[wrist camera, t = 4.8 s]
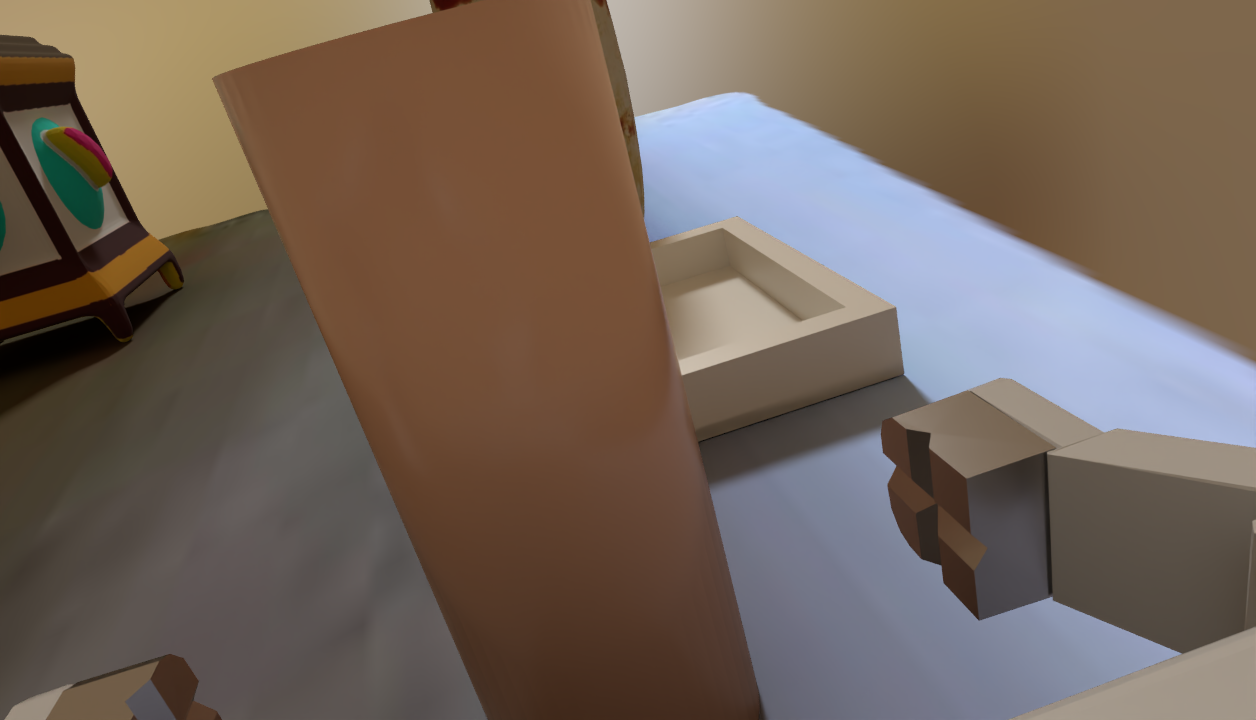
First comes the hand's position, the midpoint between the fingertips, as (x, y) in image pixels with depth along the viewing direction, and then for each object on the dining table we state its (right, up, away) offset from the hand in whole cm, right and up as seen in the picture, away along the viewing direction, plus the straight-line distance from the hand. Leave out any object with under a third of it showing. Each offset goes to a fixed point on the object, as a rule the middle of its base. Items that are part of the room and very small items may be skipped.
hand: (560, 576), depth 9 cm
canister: (+1, -5, +8) cm, 10 cm away
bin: (+1, +2, +25) cm, 25 cm away
